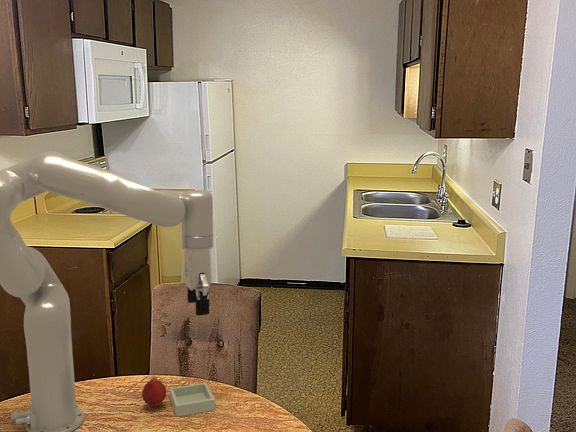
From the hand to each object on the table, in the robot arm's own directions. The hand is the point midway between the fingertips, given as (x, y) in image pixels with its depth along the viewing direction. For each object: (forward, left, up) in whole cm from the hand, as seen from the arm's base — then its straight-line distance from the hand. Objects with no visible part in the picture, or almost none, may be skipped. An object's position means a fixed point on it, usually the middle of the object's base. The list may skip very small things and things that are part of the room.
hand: (198, 308), depth 141 cm
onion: (-11, 0, -25) cm, 27 cm away
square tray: (-2, -2, -24) cm, 25 cm away
